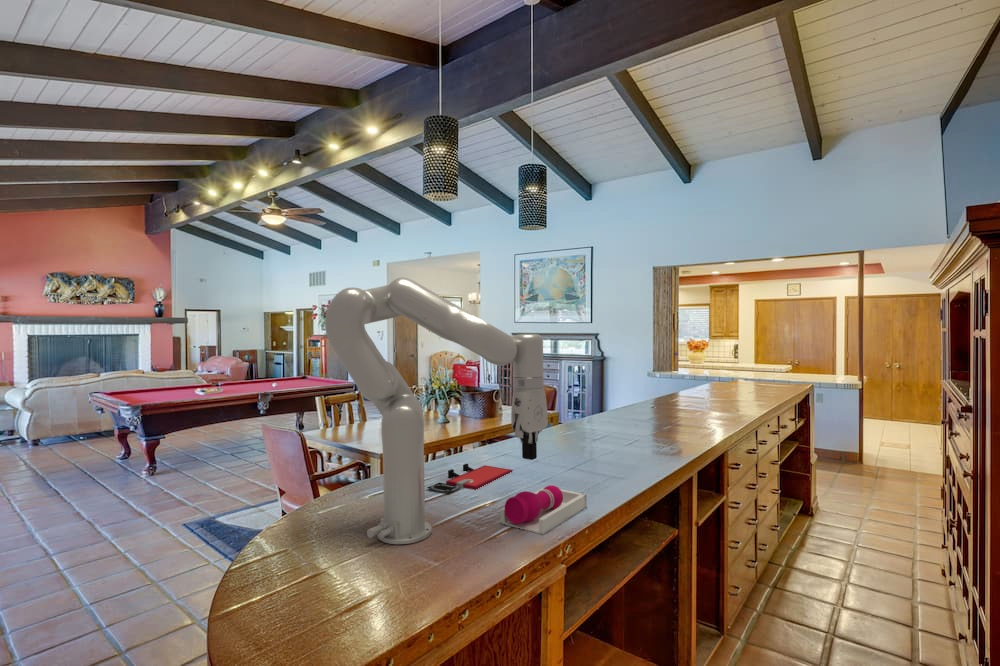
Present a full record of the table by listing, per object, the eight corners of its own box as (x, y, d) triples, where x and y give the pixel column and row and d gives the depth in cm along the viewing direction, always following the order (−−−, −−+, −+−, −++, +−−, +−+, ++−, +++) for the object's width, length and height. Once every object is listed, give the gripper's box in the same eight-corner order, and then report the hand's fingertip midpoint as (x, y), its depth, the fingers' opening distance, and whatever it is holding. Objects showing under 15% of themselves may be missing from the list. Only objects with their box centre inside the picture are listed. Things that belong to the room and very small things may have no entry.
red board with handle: (421, 490, 151) (461, 498, 143) (421, 480, 151) (461, 488, 143) (475, 467, 176) (512, 474, 169) (475, 459, 176) (512, 465, 169)
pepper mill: (511, 531, 120) (557, 512, 135) (530, 518, 116) (576, 500, 131) (498, 502, 123) (545, 487, 138) (517, 490, 119) (563, 475, 134)
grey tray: (543, 534, 115) (543, 519, 115) (500, 523, 123) (500, 509, 123) (586, 507, 133) (586, 494, 133) (546, 498, 140) (546, 486, 140)
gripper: (524, 387, 114) (525, 467, 114) (556, 382, 126) (557, 454, 126) (498, 386, 118) (499, 463, 118) (532, 380, 130) (533, 450, 130)
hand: (529, 458), depth 122 cm, fingers closed
